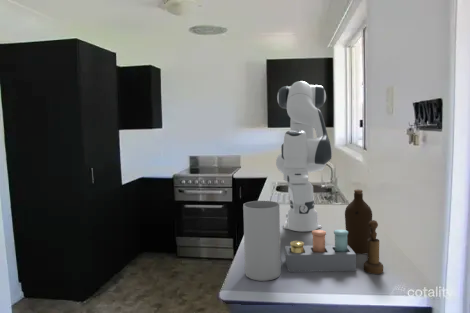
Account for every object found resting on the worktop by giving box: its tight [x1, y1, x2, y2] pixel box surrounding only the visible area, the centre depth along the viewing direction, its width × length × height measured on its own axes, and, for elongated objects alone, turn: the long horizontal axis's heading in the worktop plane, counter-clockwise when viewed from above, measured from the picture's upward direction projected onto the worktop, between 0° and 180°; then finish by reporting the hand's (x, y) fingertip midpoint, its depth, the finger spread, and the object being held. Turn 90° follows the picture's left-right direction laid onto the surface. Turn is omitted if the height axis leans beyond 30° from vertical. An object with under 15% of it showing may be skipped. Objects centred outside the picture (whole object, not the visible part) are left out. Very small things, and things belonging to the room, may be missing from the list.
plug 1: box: [289, 240, 305, 253], centre depth 136 cm, size 5×5×8 cm
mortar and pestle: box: [362, 219, 384, 275], centre depth 129 cm, size 7×6×18 cm
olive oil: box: [344, 189, 373, 255], centre depth 150 cm, size 11×11×25 cm
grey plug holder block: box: [284, 244, 357, 272], centre depth 136 cm, size 10×24×6 cm, turn 88°
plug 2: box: [311, 229, 327, 253], centre depth 135 cm, size 5×5×8 cm
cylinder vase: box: [242, 200, 282, 282], centre depth 129 cm, size 12×12×25 cm
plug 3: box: [333, 229, 348, 252], centre depth 135 cm, size 5×5×8 cm
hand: (296, 212), depth 135 cm, fingers closed
